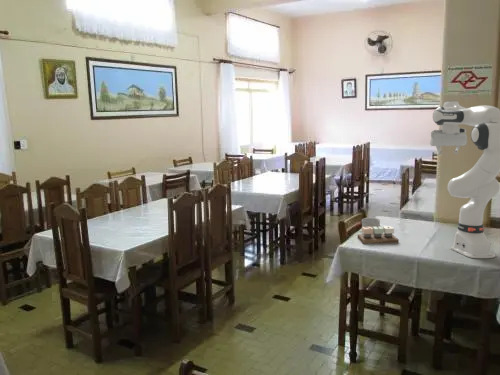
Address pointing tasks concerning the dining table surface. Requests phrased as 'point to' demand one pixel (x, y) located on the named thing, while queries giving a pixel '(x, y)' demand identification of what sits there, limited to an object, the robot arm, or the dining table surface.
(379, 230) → the key two
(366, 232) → the key three
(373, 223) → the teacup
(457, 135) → the robot arm
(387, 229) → the key one
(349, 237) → the dining table surface
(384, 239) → the brown flat board
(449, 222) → the dining table surface
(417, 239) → the dining table surface
